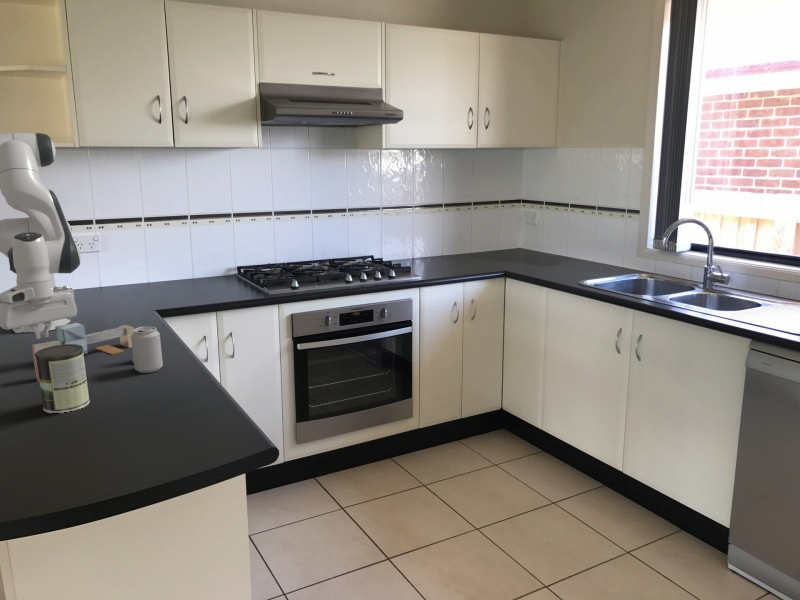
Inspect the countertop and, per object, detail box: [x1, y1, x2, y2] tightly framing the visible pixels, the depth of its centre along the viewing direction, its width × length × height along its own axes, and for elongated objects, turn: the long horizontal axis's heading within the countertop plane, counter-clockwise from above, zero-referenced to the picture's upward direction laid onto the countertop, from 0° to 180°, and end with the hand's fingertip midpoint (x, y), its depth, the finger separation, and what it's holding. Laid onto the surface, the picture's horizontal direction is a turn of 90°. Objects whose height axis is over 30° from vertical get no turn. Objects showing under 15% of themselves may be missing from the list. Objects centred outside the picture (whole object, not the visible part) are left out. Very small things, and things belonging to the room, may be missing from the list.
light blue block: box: [55, 322, 88, 355], centre depth 197 cm, size 5×6×9 cm
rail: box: [45, 324, 135, 355], centre depth 202 cm, size 10×25×6 cm, turn 141°
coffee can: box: [35, 344, 91, 414], centre depth 159 cm, size 10×10×14 cm
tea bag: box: [31, 340, 60, 383], centre depth 180 cm, size 4×7×10 cm, turn 122°
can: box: [131, 326, 164, 374], centre depth 185 cm, size 8×8×12 cm
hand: (42, 338), depth 190 cm, fingers closed
